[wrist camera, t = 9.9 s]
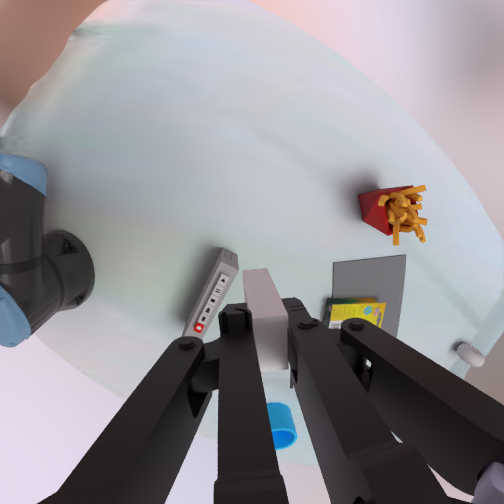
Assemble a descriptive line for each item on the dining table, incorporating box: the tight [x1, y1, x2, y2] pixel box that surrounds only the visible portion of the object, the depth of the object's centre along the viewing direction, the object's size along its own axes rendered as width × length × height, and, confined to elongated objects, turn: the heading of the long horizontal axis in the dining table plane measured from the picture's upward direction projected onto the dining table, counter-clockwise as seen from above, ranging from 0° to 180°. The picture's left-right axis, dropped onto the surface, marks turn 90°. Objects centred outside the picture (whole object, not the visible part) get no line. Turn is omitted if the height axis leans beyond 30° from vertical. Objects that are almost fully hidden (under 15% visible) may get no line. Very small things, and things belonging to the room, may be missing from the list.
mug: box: [267, 403, 297, 450], centre depth 52 cm, size 12×8×8 cm
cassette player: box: [182, 248, 239, 339], centre depth 43 cm, size 16×3×10 cm, turn 153°
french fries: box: [358, 185, 427, 246], centre depth 39 cm, size 9×8×15 cm
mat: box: [333, 255, 406, 338], centre depth 51 cm, size 16×20×1 cm
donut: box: [457, 343, 485, 367], centre depth 52 cm, size 10×4×10 cm, turn 70°
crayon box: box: [324, 298, 386, 329], centre depth 49 cm, size 7×3×12 cm
